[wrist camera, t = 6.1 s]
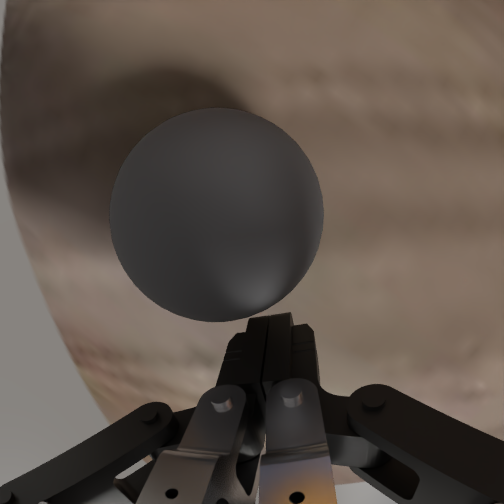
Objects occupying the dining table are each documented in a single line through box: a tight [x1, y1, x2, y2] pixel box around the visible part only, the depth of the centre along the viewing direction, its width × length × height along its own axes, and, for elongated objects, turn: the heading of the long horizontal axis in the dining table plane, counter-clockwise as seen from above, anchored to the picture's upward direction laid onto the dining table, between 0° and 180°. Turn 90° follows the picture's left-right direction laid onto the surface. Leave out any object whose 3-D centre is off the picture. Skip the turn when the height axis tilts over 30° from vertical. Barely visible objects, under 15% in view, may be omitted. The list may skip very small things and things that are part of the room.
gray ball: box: [109, 108, 324, 322], centre depth 9 cm, size 6×6×6 cm
